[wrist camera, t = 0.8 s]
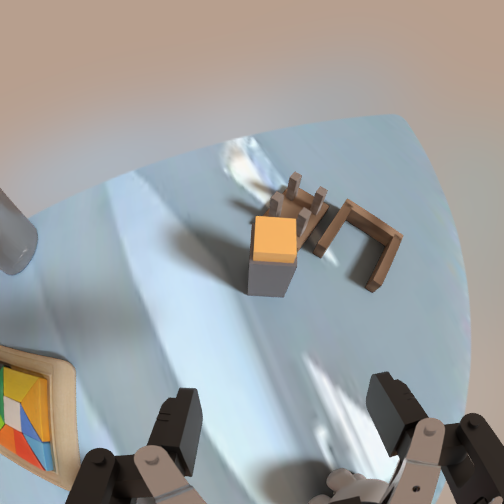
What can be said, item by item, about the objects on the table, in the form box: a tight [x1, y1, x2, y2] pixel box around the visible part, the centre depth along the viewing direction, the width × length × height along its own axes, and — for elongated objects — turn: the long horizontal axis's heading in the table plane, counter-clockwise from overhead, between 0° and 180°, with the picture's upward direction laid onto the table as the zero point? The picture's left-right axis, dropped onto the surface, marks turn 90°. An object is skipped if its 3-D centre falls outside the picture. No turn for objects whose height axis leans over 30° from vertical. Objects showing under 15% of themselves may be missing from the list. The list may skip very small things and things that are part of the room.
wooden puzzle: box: [0, 345, 81, 491], centre depth 20 cm, size 18×19×4 cm
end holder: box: [313, 199, 403, 293], centre depth 33 cm, size 9×8×2 cm
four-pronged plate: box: [263, 172, 329, 252], centre depth 33 cm, size 6×8×5 cm
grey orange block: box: [248, 216, 297, 297], centre depth 27 cm, size 4×4×10 cm
